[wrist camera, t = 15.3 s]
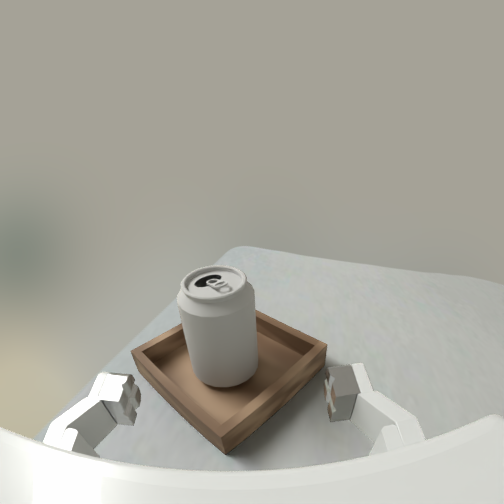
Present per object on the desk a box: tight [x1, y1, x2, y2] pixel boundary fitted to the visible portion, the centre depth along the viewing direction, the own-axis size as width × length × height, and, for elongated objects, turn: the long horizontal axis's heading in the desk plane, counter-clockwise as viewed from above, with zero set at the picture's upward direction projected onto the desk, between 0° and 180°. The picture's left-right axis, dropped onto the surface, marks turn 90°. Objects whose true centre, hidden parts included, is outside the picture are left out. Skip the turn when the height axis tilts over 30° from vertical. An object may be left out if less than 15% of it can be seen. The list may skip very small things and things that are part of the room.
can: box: [177, 265, 258, 387], centre depth 31 cm, size 8×8×12 cm
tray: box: [131, 310, 327, 455], centre depth 34 cm, size 16×16×4 cm
